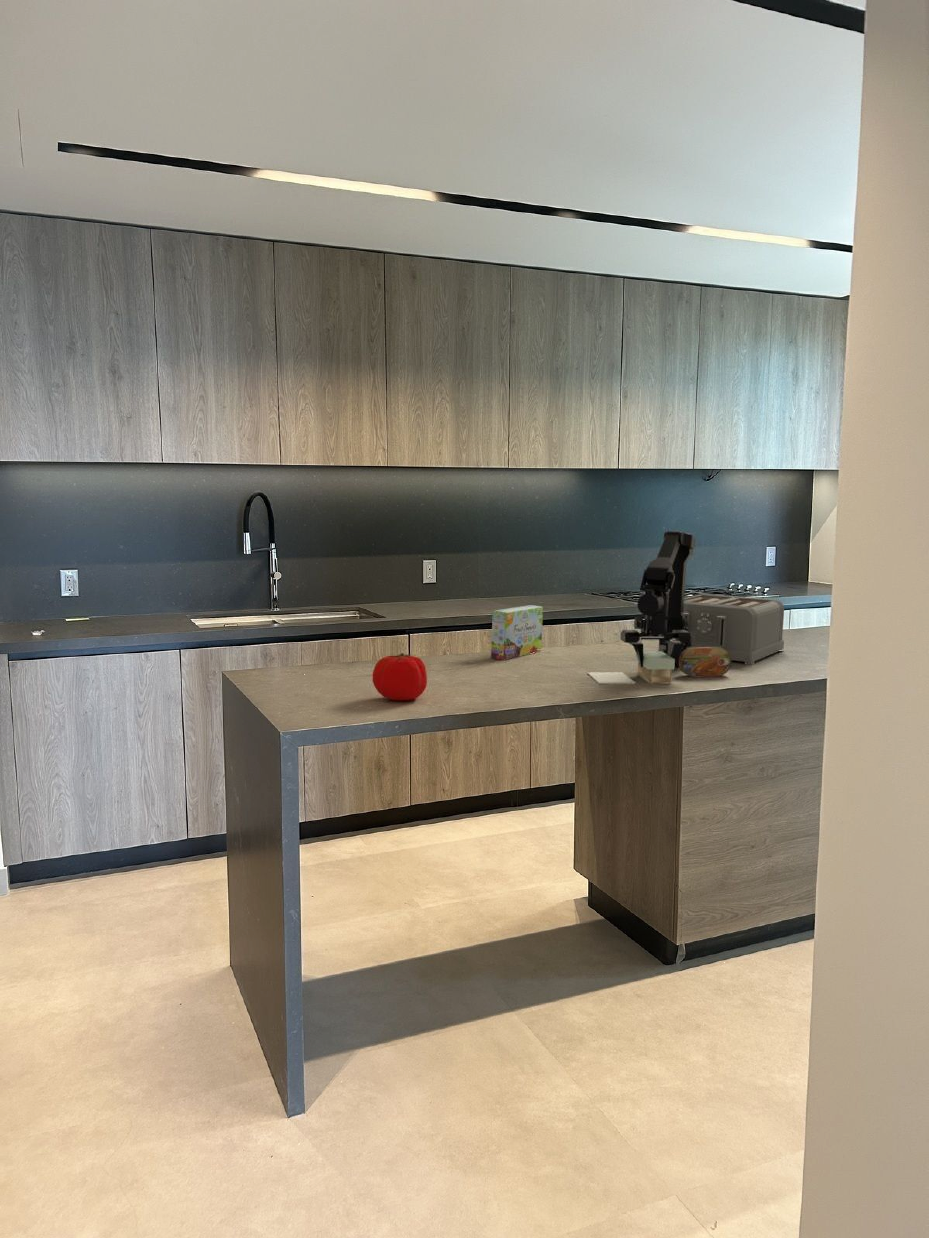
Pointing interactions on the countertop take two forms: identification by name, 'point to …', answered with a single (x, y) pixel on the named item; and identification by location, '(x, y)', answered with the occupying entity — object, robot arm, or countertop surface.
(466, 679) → the countertop surface
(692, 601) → the toaster
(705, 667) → the tin
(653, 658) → the pale green block
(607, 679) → the mat
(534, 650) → the snack box
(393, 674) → the tomato
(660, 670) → the crate
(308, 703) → the countertop surface
